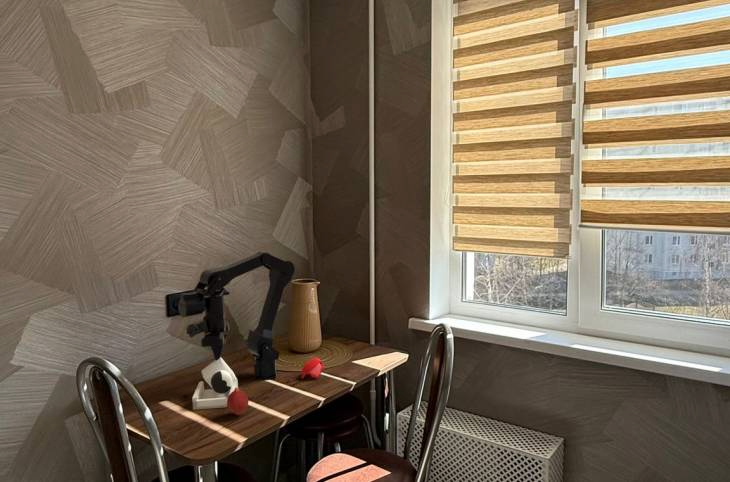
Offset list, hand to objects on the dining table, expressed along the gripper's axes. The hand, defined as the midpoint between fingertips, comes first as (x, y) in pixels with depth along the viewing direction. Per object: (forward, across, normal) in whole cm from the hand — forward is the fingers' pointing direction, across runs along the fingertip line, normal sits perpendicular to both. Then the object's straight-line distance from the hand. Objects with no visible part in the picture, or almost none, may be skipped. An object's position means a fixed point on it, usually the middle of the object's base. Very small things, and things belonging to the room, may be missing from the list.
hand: (217, 360), depth 177 cm
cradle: (+10, +8, 0) cm, 12 cm away
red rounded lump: (+10, +20, +8) cm, 24 cm away
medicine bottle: (+4, -1, 0) cm, 4 cm away
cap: (+10, -5, +29) cm, 31 cm away
